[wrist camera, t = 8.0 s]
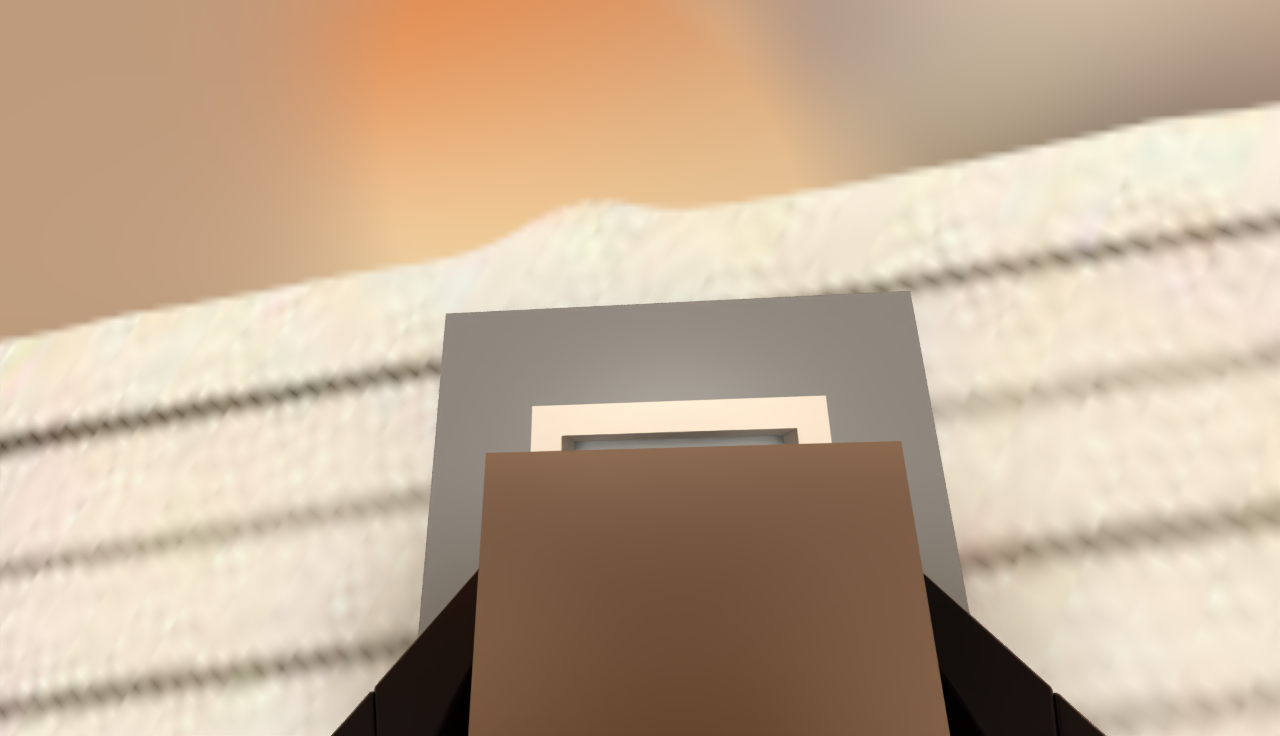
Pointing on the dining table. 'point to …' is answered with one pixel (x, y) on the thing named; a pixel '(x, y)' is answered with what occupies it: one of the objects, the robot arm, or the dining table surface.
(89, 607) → the dining table surface
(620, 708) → the walnut block
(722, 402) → the socket plate
